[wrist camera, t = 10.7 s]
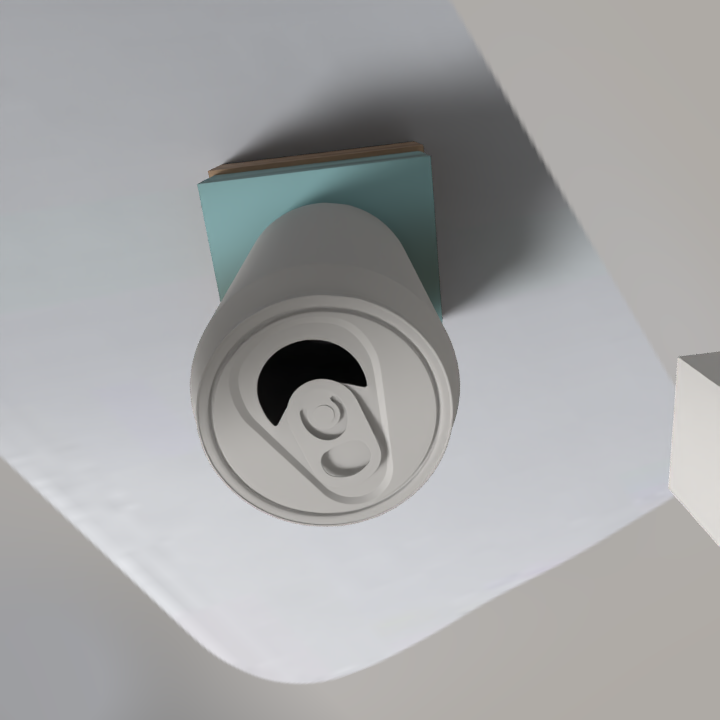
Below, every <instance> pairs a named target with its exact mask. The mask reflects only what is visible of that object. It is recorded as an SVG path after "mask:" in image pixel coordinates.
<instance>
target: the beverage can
mask: <svg viewBox="0 0 720 720" xmlns="http://www.w3.org/2000/svg"><path fill="white" fill-rule="evenodd" d="M190 394H191V404H192V409H193V413H194V417H195V420H196V424H197V430H198V434H199V438H200V441H201V445H202V448H203V450H204V453H205V455H206V457H207V459H208V461H209V463H210V465H211V466H212V468H213V469H214V471H215V472H216V473H217V475H218V476H219V477H220V479H221V480H222V481H223V482H224V483H225V484H226V486H227V487H228V488H229V489H230V490H231V491H232V492H234V493H235V494H236V495H237V496H238V497H239V498H241V499H242V500H244V501H245V502H246V503H248V504H249V505H251V506H252V507H254V508H256V509H257V510H259V511H261V512H263V513H265V514H268V515H270V516H272V517H275V518H278V519H281V520H284V521H287V522H291V523H295V524H301V525H308V526H324V527H328V526H343V525H349V524H355V523H359V522H363V521H366V520H369V519H372V518H375V517H378V516H380V515H382V514H384V513H386V512H388V511H390V510H392V509H394V508H396V507H397V506H399V505H400V504H402V503H403V502H405V501H406V500H407V499H409V498H410V497H411V496H413V495H414V494H415V493H416V492H417V491H418V490H419V489H420V488H421V487H422V486H423V485H424V484H425V483H426V482H427V480H428V479H429V478H430V476H431V475H432V474H433V473H434V471H435V469H436V468H437V466H438V465H439V463H440V461H441V459H442V457H443V455H444V453H445V450H446V448H447V445H448V442H449V439H450V435H451V430H452V427H453V424H454V421H455V417H456V414H457V409H458V404H459V396H460V378H459V369H458V363H457V359H456V355H455V352H454V349H453V346H452V343H451V341H450V338H449V336H448V334H447V332H446V330H445V328H444V326H443V324H442V322H441V320H440V318H439V317H438V315H437V313H436V311H435V309H434V307H433V305H432V303H431V301H430V299H429V297H428V295H427V293H426V291H425V289H424V287H423V285H422V283H421V281H420V279H419V277H418V275H417V273H416V271H415V269H414V267H413V265H412V263H411V261H410V260H409V258H408V256H407V254H406V252H405V250H404V248H403V246H402V244H401V243H400V241H399V239H398V238H397V237H396V236H395V234H394V233H393V232H392V231H391V230H390V229H389V228H388V227H387V226H386V225H385V224H384V223H383V222H382V221H380V220H379V219H378V218H376V217H375V216H373V215H371V214H370V213H368V212H366V211H364V210H362V209H359V208H356V207H353V206H350V205H345V204H337V203H316V204H310V205H305V206H302V207H299V208H296V209H294V210H291V211H289V212H287V213H286V214H284V215H282V216H281V217H279V218H278V219H276V220H275V221H274V222H273V223H271V224H270V225H269V226H268V227H267V228H266V229H265V230H264V231H263V232H262V234H261V235H260V236H259V238H258V239H257V240H256V242H255V244H254V246H253V247H252V249H251V251H250V252H249V254H248V256H247V258H246V259H245V261H244V263H243V265H242V266H241V268H240V270H239V272H238V273H237V275H236V277H235V279H234V280H233V282H232V284H231V285H230V287H229V289H228V291H227V292H226V294H225V296H224V298H223V299H222V301H221V303H220V305H219V306H218V308H217V310H216V312H215V313H214V315H213V317H212V318H211V320H210V322H209V324H208V325H207V327H206V329H205V331H204V333H203V335H202V337H201V339H200V341H199V343H198V346H197V349H196V352H195V355H194V359H193V363H192V369H191V379H190Z"/></svg>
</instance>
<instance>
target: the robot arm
mask: <svg viewBox="0 0 720 720" xmlns="http://www.w3.org/2000/svg"><path fill="white" fill-rule="evenodd" d="M676 376H677V377H676V389H675V403H674V417H673V431H672V444H671V458H670V472H669V486H668V489H669V490H670V491H671V492H672V493H673V494H674V496H675V497H676V498H677V499H678V500H679V501H680V502H681V503H682V505H683V506H684V507H685V508H686V509H687V510H688V511H689V513H690V514H691V515H692V516H693V517H694V518H695V519H696V521H697V522H698V523H699V524H700V525H701V526H702V527H703V529H704V530H705V531H706V532H707V533H708V534H709V535H710V536H711V538H712V539H713V540H714V541H715V542H716V543H717V545H718V546H719V547H720V352H714V353H705V354H696V355H689V356H680V357H678V362H677V375H676Z"/></svg>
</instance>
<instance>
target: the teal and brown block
mask: <svg viewBox="0 0 720 720" xmlns="http://www.w3.org/2000/svg"><path fill="white" fill-rule="evenodd" d="M208 173H209V178H208V179H206V180H204V181H202V182H201V183H199V184H197V185H198V190H199V195H200V200H201V205H202V210H203V216H204V221H205V226H206V231H207V236H208V241H209V246H210V251H211V256H212V261H213V266H214V271H215V276H216V281H217V286H218V291H219V296H220V301H222V299H223V298H224V296H225V294H226V292H227V291H228V289H229V287H230V285H231V284H232V282H233V280H234V279H235V277H236V275H237V273H238V272H239V270H240V268H241V266H242V265H243V263H244V261H245V259H246V258H247V256H248V254H249V252H250V251H251V249H252V247H253V246H254V244H255V242H256V240H257V239H258V238H259V236H260V235H261V234H262V232H263V231H264V230H265V229H266V228H267V227H268V226H269V225H270V224H271V223H273V222H274V221H275V220H276V219H278V218H279V217H281V216H282V215H284V214H286V213H287V212H289V211H291V210H294V209H296V208H299V207H302V206H305V205H310V204H316V203H337V204H345V205H350V206H353V207H356V208H359V209H362V210H364V211H366V212H368V213H370V214H371V215H373V216H375V217H376V218H378V219H379V220H380V221H382V222H383V223H384V224H385V225H386V226H387V227H388V228H389V229H390V230H391V231H392V232H393V233H394V234H395V236H396V237H397V238H398V239H399V241H400V243H401V244H402V246H403V248H404V250H405V252H406V254H407V256H408V258H409V260H410V261H411V263H412V265H413V267H414V269H415V271H416V273H417V275H418V277H419V279H420V281H421V283H422V285H423V287H424V289H425V291H426V293H427V295H428V297H429V299H430V301H431V303H432V305H433V307H434V309H435V311H436V313H437V315H438V317H439V318H440V320H441V322H442V310H441V296H440V281H439V267H438V253H437V239H436V225H435V211H434V196H433V182H432V168H431V156H429V155H427V154H425V153H424V147H423V145H422V144H419V143H417V142H414V141H413V142H405V143H397V144H388V145H380V146H372V147H363V148H355V149H347V150H339V151H330V152H322V153H314V154H306V155H297V156H289V157H281V158H273V159H264V160H256V161H248V162H239V163H231V164H223V165H220V166H218V167H216V168H214V169H211V170H209V171H208Z"/></svg>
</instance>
